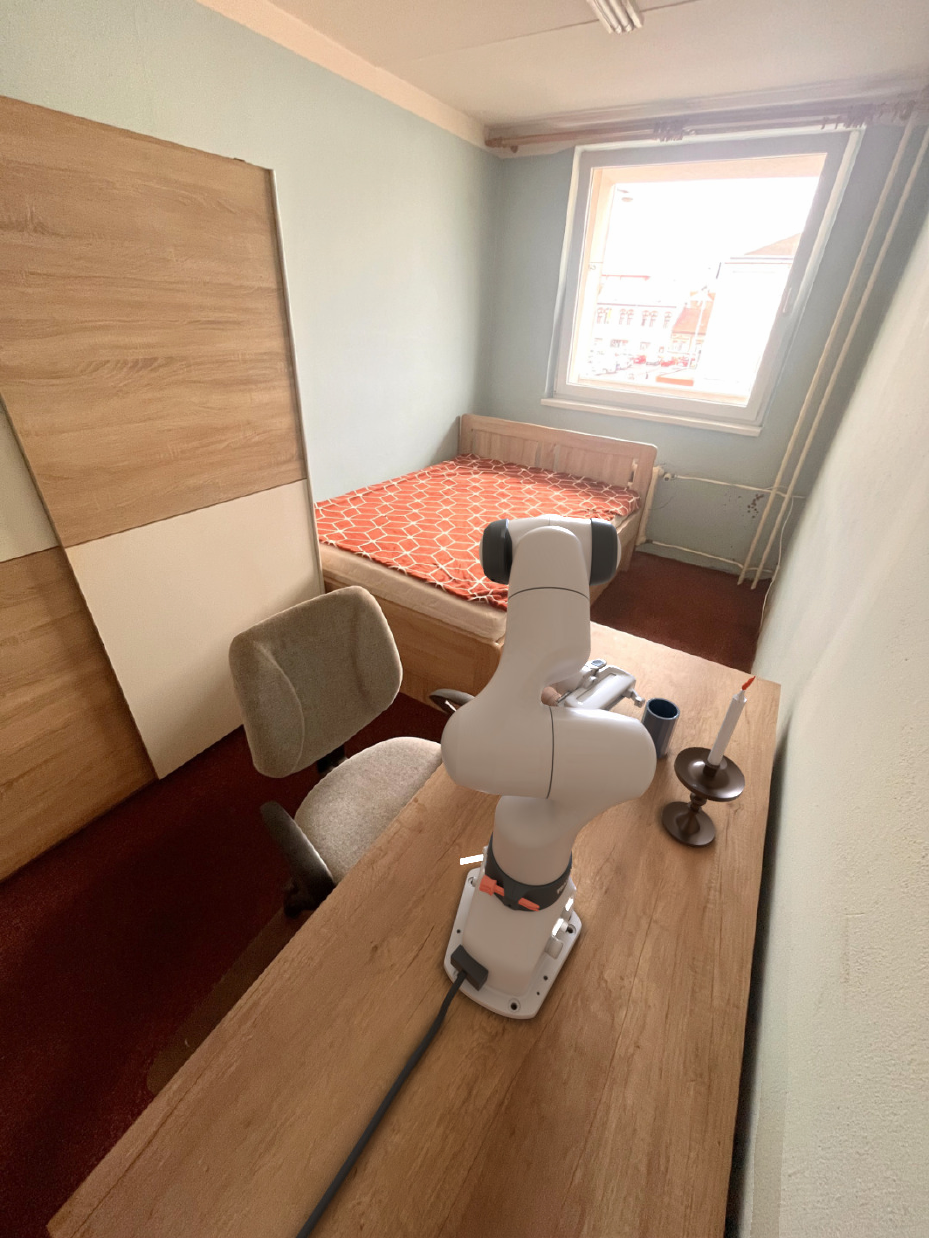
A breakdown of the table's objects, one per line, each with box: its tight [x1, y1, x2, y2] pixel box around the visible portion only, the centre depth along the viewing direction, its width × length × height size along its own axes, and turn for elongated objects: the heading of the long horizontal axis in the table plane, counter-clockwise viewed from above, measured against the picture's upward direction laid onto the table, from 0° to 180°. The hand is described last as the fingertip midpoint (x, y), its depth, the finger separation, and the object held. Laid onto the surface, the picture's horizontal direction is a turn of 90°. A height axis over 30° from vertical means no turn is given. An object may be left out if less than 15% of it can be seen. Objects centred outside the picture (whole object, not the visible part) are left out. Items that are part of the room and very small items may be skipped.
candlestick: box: [660, 675, 756, 849], centre depth 83 cm, size 11×11×35 cm
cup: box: [640, 697, 681, 760], centre depth 106 cm, size 7×7×11 cm
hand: (632, 714), depth 108 cm, fingers open, 8 cm apart
